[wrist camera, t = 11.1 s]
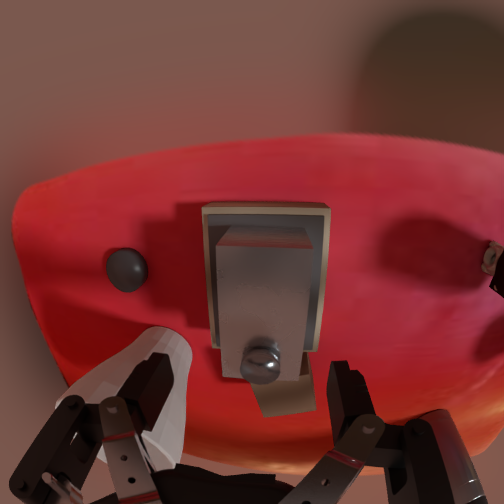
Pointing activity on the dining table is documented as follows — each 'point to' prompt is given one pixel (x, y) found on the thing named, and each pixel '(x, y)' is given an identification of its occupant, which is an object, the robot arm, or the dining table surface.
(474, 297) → the dining table surface
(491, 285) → the pneumatic valve
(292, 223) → the stand
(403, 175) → the dining table surface
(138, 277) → the black cap
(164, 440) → the cup
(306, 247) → the block
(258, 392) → the walnut block
